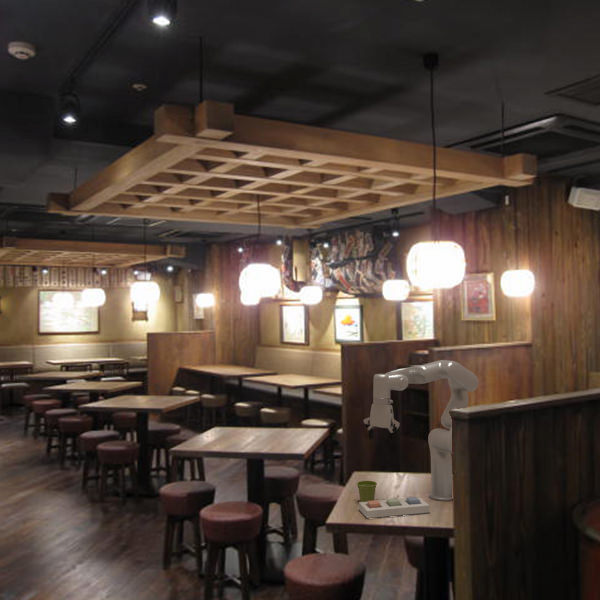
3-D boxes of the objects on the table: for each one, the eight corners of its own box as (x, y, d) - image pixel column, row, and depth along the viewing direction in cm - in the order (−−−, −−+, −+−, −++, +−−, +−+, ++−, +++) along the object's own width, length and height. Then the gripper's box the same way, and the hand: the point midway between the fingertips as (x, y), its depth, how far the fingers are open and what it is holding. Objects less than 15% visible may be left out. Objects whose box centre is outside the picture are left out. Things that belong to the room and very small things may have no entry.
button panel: (418, 504, 269) (418, 497, 269) (429, 513, 257) (429, 505, 257) (358, 510, 263) (358, 502, 263) (367, 519, 251) (367, 511, 251)
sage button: (396, 505, 263) (396, 498, 263) (400, 508, 258) (400, 501, 258) (387, 506, 262) (387, 499, 262) (390, 509, 257) (390, 502, 257)
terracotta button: (377, 507, 261) (377, 500, 261) (380, 510, 256) (380, 503, 257) (367, 507, 260) (367, 500, 260) (370, 511, 256) (370, 504, 256)
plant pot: (352, 502, 274) (352, 483, 274) (364, 497, 281) (364, 479, 281) (370, 506, 268) (369, 487, 268) (381, 501, 275) (380, 482, 275)
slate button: (416, 503, 264) (415, 496, 264) (419, 506, 260) (419, 499, 260) (406, 504, 263) (406, 497, 264) (410, 507, 259) (410, 500, 259)
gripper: (402, 402, 267) (402, 441, 266) (367, 399, 276) (367, 436, 275) (396, 404, 260) (395, 443, 260) (360, 400, 270) (360, 439, 269)
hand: (381, 440), depth 267 cm, fingers open, 9 cm apart
